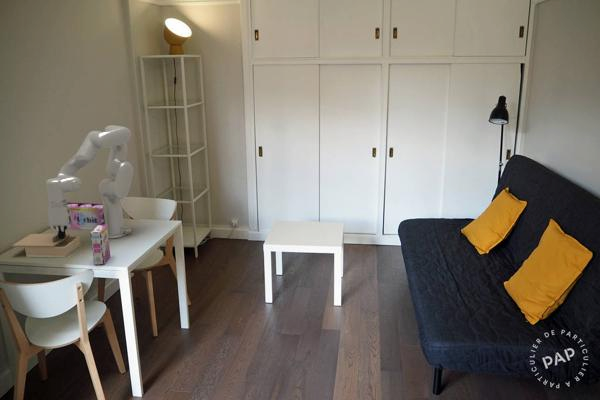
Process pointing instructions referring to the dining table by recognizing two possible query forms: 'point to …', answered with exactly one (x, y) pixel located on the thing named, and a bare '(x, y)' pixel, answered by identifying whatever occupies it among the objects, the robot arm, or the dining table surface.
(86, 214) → the gum box
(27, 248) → the lidded box
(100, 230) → the candy bar box
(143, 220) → the dining table surface
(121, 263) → the dining table surface
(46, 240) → the lid
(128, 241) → the dining table surface
